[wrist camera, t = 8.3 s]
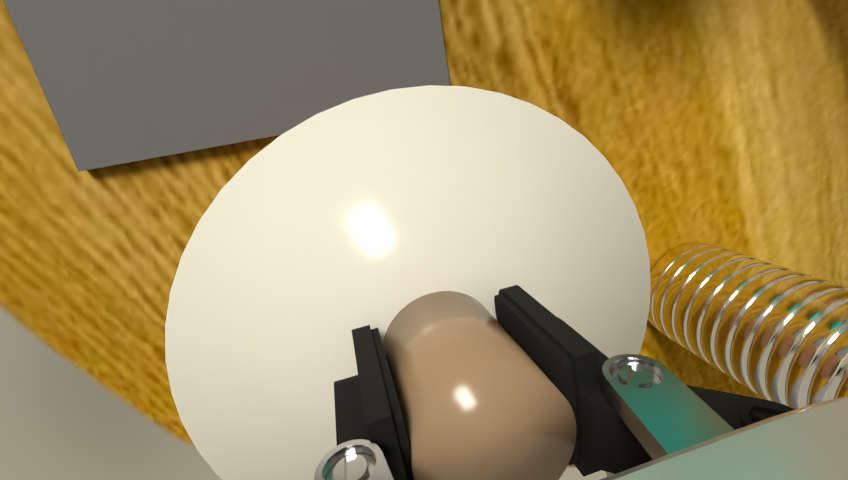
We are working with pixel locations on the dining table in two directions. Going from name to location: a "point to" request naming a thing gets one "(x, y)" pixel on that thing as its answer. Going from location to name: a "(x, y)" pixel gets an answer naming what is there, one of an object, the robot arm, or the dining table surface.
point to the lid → (402, 284)
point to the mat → (216, 67)
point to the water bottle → (754, 322)
